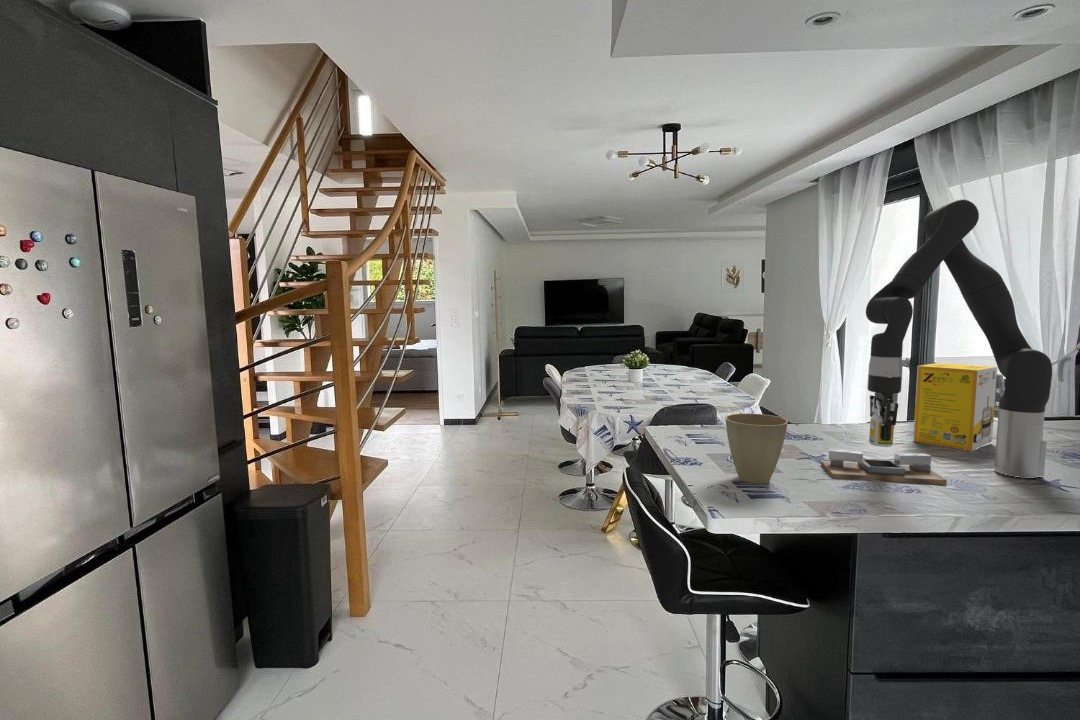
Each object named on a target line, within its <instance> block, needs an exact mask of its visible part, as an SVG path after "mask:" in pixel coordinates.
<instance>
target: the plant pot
mask: <svg viewBox="0 0 1080 720" xmlns="http://www.w3.org/2000/svg"><path fill="white" fill-rule="evenodd" d="M724 420H725V427H726V434H727V441H728V447H729V450H730V454H731V458H732V462H733V465H734V468H735V471H736V474H737V476H738V477H737V478H738V479H739V480H740V481H742V482H744V483H748V484H753V485H762V484H763V485H764V484H767V483H769V482H770V480H771V479H772V477H773V474H774V472H775V469H776V468H777V464H778V462H779V459H780V456H781V452H782V449H783V446H784V442H785V438H786V433H787V428H788V425H789V424H788V423H789V421H788V420H787V419H786V418H784V417H781V416H777V415H773V414H772V415H771V414H764V413H749V412H748V413H747V412H746V413H731V414H729V415H726V416H725V418H724Z"/></svg>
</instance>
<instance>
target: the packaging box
mask: <svg viewBox="0 0 1080 720" xmlns="http://www.w3.org/2000/svg"><path fill="white" fill-rule="evenodd" d="M916 369H917V370H916V386H915V400H914V401H915V403H914V404H915V405H914V421H913V439H912V441H913V442H916V443H922V444H926V445H933V446H937V447H943V446H945V447H944V448H949V447H952V448H951V449H955V448H959V449H958V450H961V449H966V450H974V449H976V448H978V447H981V446H983V445H985V444H987V443H990V442H992V443H993V434H994V432H993V431H994V420H995V418H994V417H995V407H996V406H995V403H996V392H997V391H996V390H997V376H998V366H986V365H985V366H983V365H974V364H973V365H972V364H970V365H969V364H958V363H957V364H956V363H943V362H936V363H927V364H922V365H921V364H920V365H917V368H916ZM966 450H965V451H966ZM974 451H975V450H974Z"/></svg>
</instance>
